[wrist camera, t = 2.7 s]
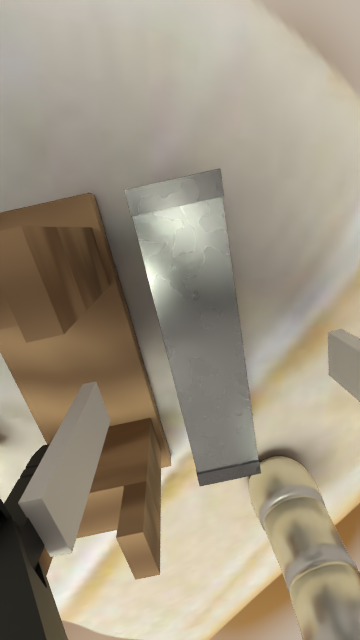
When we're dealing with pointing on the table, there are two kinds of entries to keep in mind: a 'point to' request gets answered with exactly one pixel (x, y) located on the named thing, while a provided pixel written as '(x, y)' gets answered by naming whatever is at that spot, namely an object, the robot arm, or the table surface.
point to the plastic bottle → (307, 550)
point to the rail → (199, 318)
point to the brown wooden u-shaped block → (83, 362)
